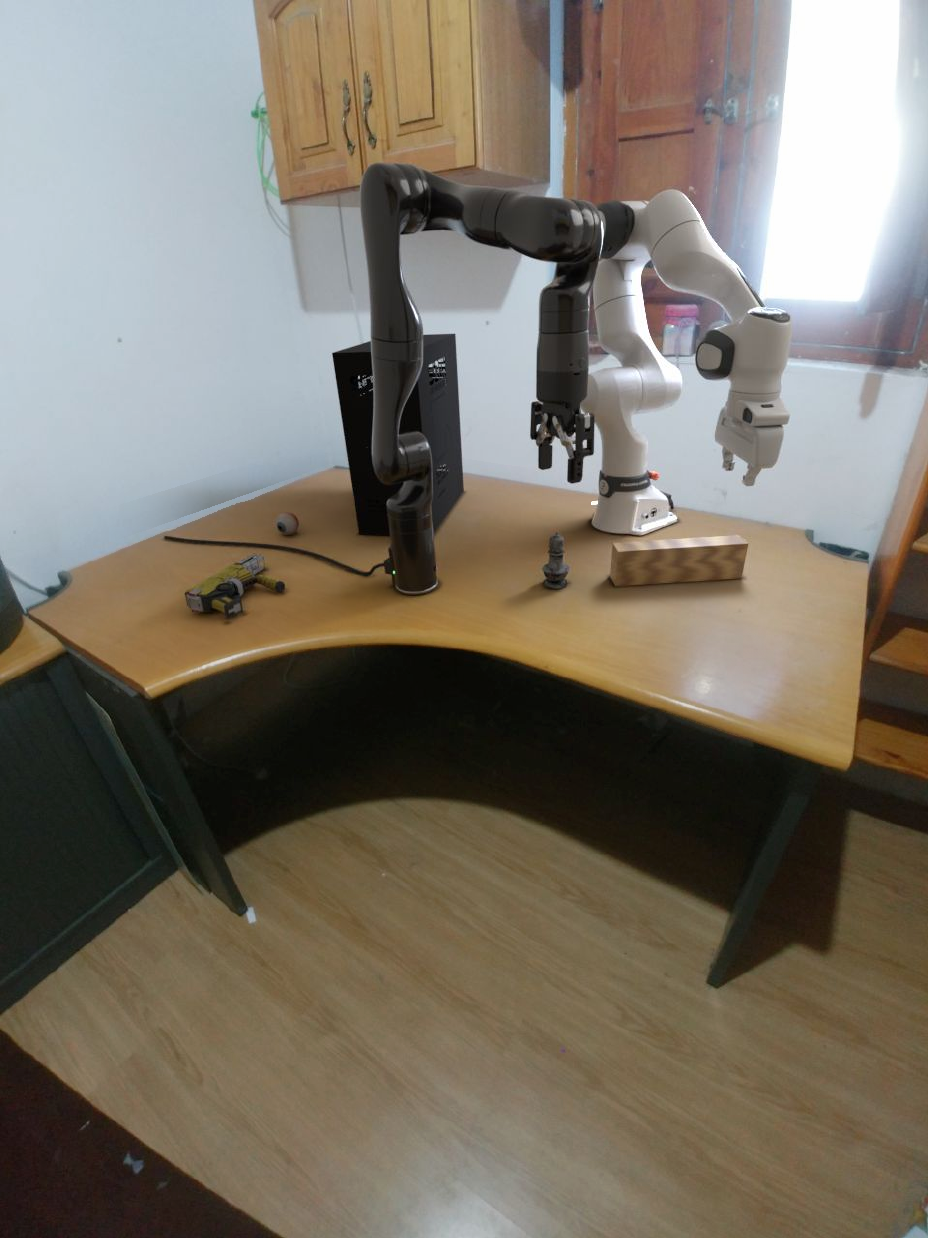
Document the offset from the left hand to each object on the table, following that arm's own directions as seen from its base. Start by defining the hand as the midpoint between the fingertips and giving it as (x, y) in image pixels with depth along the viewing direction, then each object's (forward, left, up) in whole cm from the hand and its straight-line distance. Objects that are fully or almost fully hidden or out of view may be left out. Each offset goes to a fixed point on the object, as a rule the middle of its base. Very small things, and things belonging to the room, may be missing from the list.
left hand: (559, 475), depth 96 cm
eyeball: (-88, +12, -31) cm, 94 cm away
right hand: (+18, +43, -10) cm, 47 cm away
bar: (+10, +36, -31) cm, 49 cm away
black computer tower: (-68, +42, -31) cm, 86 cm away
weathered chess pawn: (-11, +21, -31) cm, 39 cm away
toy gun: (-68, -17, -31) cm, 76 cm away
